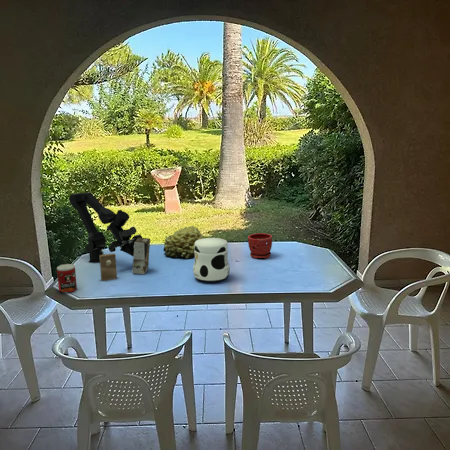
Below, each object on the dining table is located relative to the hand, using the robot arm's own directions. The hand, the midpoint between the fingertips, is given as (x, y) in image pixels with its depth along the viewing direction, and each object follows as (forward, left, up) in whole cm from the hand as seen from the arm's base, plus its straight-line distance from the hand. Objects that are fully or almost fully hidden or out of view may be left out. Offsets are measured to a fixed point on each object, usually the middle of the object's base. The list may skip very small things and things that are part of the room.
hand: (134, 256), depth 226 cm
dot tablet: (-10, -12, -8) cm, 18 cm away
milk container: (+39, -13, -8) cm, 41 cm away
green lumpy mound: (+23, +30, -8) cm, 39 cm away
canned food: (-25, -26, -8) cm, 37 cm away
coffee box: (+3, -2, -7) cm, 8 cm away
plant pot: (+65, +21, -8) cm, 68 cm away
